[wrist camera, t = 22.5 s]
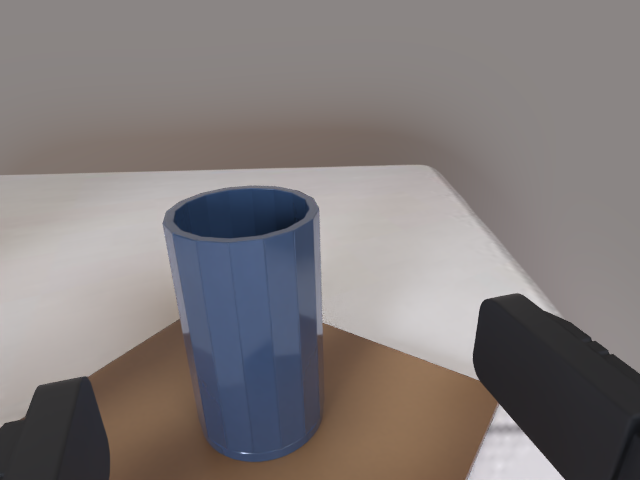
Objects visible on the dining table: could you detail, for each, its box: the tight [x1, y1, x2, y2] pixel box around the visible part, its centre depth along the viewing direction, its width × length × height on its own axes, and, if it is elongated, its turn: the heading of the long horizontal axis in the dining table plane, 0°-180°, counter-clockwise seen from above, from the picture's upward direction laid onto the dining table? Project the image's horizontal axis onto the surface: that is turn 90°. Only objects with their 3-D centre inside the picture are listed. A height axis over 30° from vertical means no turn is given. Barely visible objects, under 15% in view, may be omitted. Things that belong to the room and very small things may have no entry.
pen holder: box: [163, 186, 325, 462], centre depth 21 cm, size 6×6×11 cm
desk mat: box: [21, 319, 499, 480], centre depth 24 cm, size 20×16×1 cm
